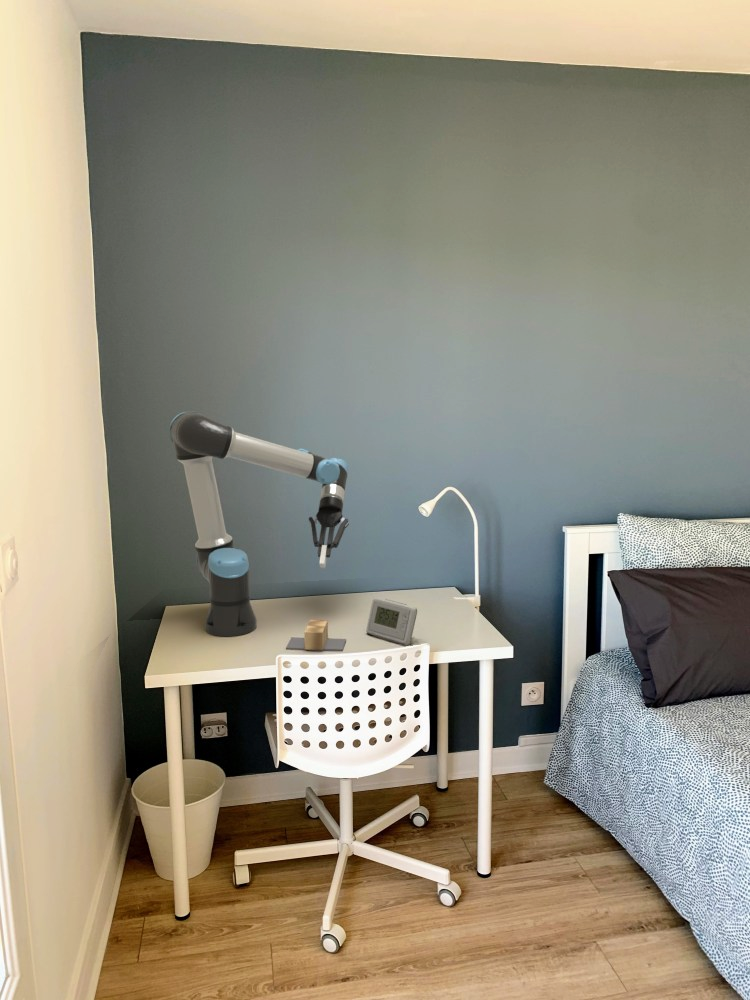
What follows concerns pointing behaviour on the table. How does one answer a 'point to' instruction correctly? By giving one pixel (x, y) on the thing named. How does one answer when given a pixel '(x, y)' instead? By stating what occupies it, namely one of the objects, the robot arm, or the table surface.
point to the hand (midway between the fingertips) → (322, 565)
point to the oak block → (316, 634)
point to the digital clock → (391, 621)
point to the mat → (330, 645)
